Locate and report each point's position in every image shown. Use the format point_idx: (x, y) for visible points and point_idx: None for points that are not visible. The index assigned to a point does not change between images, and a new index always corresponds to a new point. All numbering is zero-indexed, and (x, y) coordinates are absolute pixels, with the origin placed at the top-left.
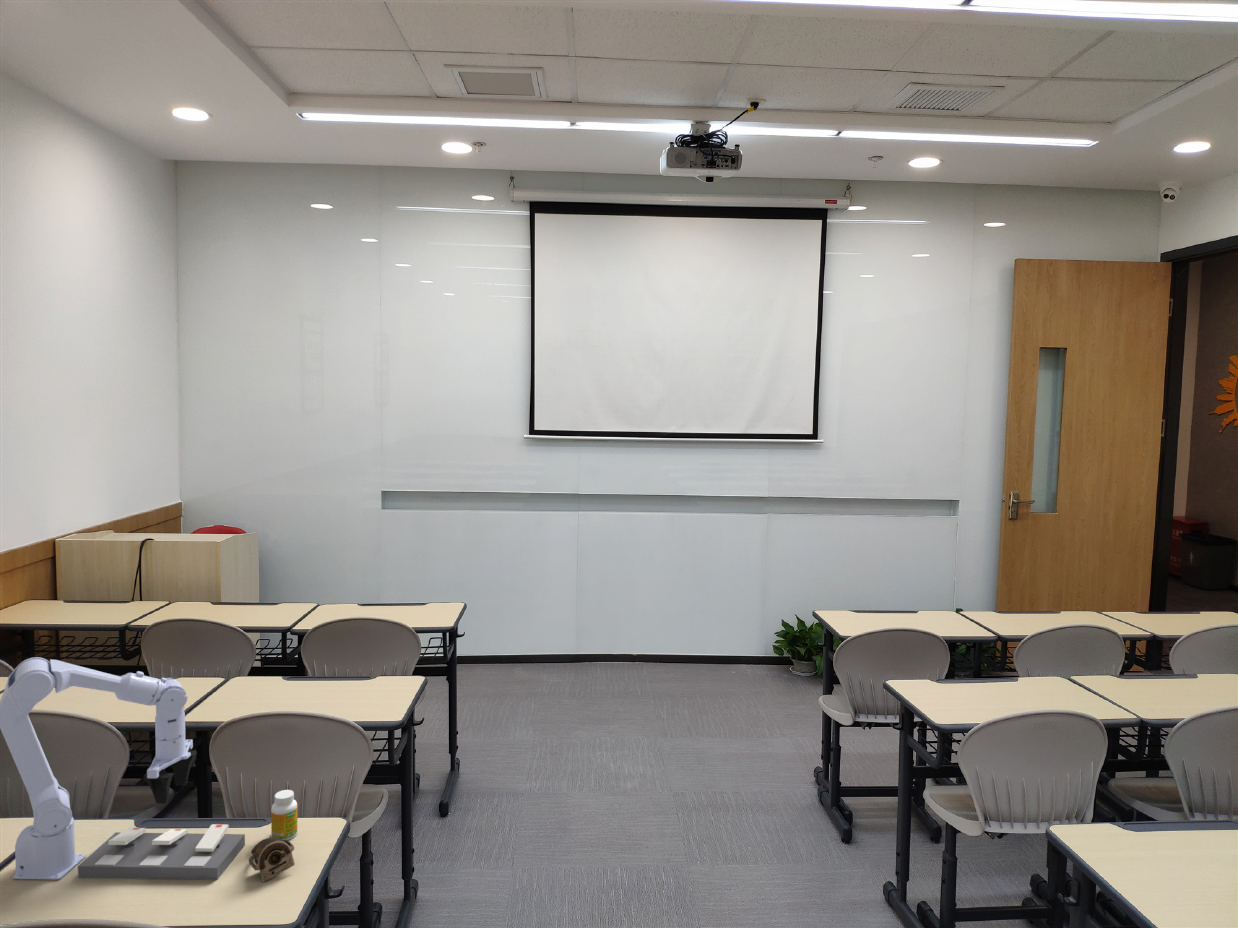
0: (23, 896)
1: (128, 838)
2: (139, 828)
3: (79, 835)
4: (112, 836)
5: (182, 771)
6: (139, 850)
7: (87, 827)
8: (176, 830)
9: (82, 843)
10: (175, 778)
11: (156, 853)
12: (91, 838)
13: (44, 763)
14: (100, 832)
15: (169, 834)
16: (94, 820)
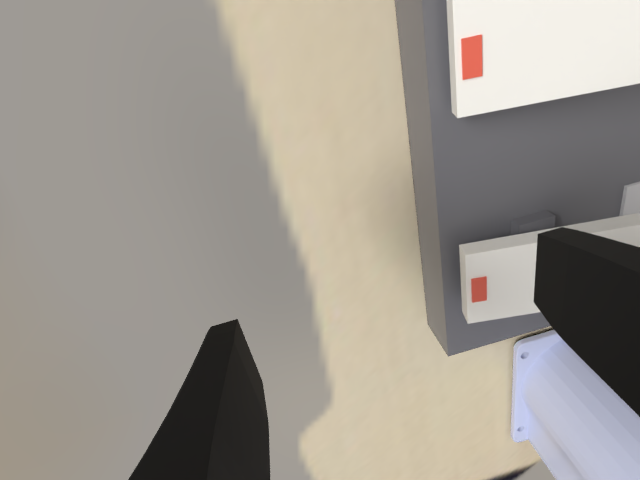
0: None
1: (616, 233)
2: (472, 277)
3: (399, 444)
4: (477, 342)
5: (237, 476)
6: (586, 152)
7: (355, 461)
8: (482, 59)
9: (439, 405)
10: (266, 441)
11: None
12: (410, 407)
13: None
14: (373, 413)
15: (568, 45)
16: (314, 476)
